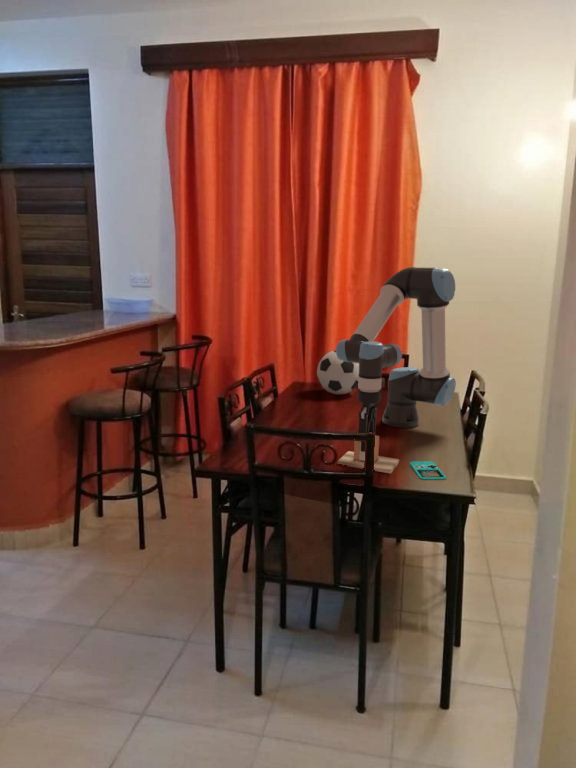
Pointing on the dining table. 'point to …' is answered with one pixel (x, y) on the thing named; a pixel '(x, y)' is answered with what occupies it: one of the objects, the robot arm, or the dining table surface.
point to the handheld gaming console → (426, 466)
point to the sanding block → (357, 449)
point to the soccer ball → (337, 374)
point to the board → (380, 465)
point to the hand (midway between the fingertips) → (366, 457)
